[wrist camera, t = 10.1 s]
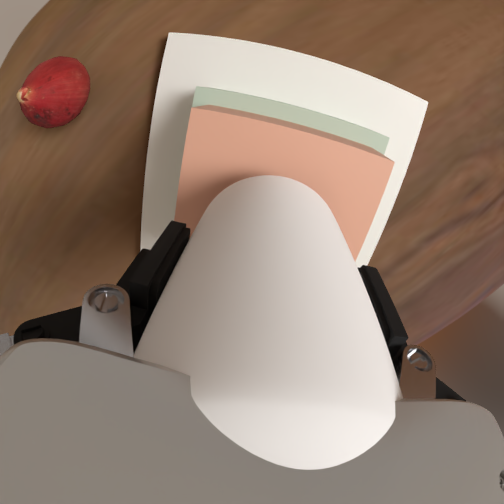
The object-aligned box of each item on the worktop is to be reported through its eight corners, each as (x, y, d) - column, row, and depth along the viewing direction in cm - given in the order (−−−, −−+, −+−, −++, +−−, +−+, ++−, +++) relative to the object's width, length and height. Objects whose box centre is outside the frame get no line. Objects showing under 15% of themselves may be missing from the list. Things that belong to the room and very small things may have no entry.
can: (243, 309, 16) (213, 537, 6) (174, 213, 14) (28, 461, 3) (355, 264, 14) (427, 512, 4) (300, 146, 12) (426, 463, 1)
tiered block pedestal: (344, 299, 29) (362, 372, 21) (144, 254, 28) (102, 318, 20) (421, 101, 19) (490, 114, 11) (174, 35, 18) (118, 9, 10)
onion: (108, 115, 21) (49, 131, 14) (59, 124, 21) (-1, 144, 14) (107, 51, 18) (46, 45, 11) (57, 66, 18) (-5, 71, 11)
